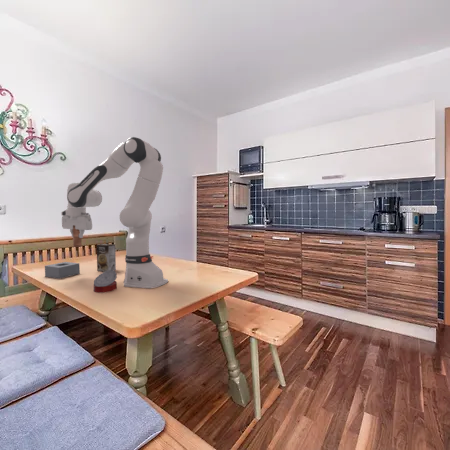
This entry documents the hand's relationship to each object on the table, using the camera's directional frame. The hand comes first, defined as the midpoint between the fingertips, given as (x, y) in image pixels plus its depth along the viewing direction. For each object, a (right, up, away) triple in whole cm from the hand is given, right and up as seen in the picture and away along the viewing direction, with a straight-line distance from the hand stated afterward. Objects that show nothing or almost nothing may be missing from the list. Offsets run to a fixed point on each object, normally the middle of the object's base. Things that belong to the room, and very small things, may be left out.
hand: (77, 237), depth 140 cm
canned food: (+26, -24, -22) cm, 42 cm away
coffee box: (+9, -21, +15) cm, 28 cm away
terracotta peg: (0, -5, 0) cm, 5 cm away
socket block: (-11, -22, +4) cm, 24 cm away
